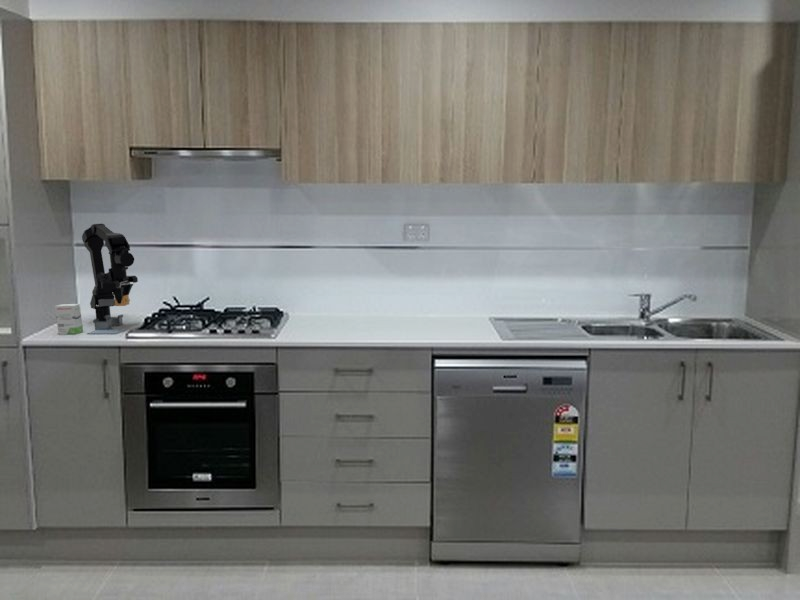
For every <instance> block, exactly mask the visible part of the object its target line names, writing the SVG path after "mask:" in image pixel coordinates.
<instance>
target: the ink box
mask: <svg viewBox="0 0 800 600" xmlns="http://www.w3.org/2000/svg"><path fill="white" fill-rule="evenodd" d="M80 305H81V304H80V303H70V304H69V303H68V304H67V303H65V304H64V303H63V304H57V305H54V309H55V317H56V325H57V332H58V333H57V335H78V334H80V333H83V332H84V328H83V321H82V320H83V319H82V312H81V306H80Z"/></svg>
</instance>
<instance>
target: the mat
mask: <svg viewBox="0 0 800 600" xmlns="http://www.w3.org/2000/svg"><path fill="white" fill-rule="evenodd" d="M123 332H126V329H111V330H95V329H94V330H92V331H89V332H87V333H86V335H118V334H120V333H123Z"/></svg>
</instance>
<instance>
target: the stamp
mask: <svg viewBox="0 0 800 600" xmlns="http://www.w3.org/2000/svg"><path fill="white" fill-rule="evenodd" d="M129 296H130V295H122V300H121V303H120V304H118V302H117V300H116V298H115V296H114V299H101V300H98V302H99V306H111V307H114V306H115V307H125V306H128V305H130V301H131V299H130V298H129Z"/></svg>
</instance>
